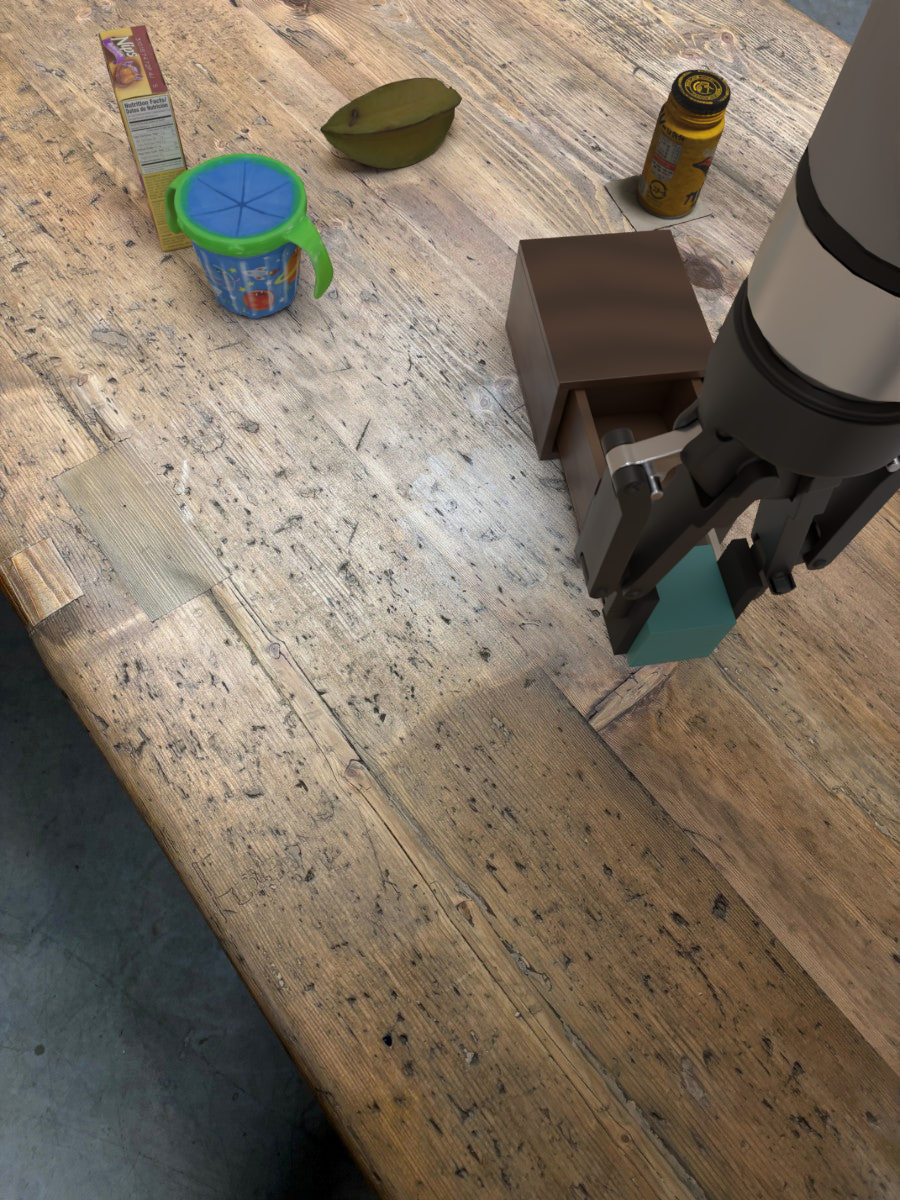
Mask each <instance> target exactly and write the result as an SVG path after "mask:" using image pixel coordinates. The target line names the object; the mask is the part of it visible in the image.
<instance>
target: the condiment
mask: <svg viewBox="0 0 900 1200" xmlns="http://www.w3.org/2000/svg"><path fill="white" fill-rule="evenodd" d="M731 95H732V94H731V87H730V85H729V83H727V81H726V80H725V79H724V77H722V76H720V75H718V74H717V73H715V72H712V71H709V70H705V69H699V68H697V69H688V70H684V71H682V72H680V73H679V74H678V75H677V76H676V77H675V79H674V80H673V82H672V84H671V89H670V92H669V94H668V96H667V99H666V101H665V102H664V103H663V104H662V105H661V107H660V110H659V112H658V116H657V119H656V123H655V126H654V129H653V133H652V137H651V140H650V143H649V146H648V150H647V154H646V156H645V160H644V164H643V167H642V170H641V174H635V175H632V176H629V177H624V178H621V179H616V180H615V179H614V180H611V181H607V182H603V185H604V186H605V188H606V189H607V192H608V193H609V194H610V196H611V198H612V199H613V200H614V202H615V203H616V205H617V207H618V208H619V209H620V211H621V212H622V215H623V216H625V217H626V218H627V220H628V222H629V223H630V225H631V227H633V229H635V232H637V231H652V230H658V229H661V228H665V227H669V226H672V225H678V224H681V223H685V222H689V221H692V220H697V219H699V218H703V217H706V216H709V215H711V214H713V213H714V212H713V210H711V209H710V207H709V206H708V205H707V204H706V203H705V201H704V200H703V199H702V198H701V196H700V195H701V192H702V190H703V186H704V184H705V181H706V179H707V176H708V173H709V170H710V168H711V165H712V161H713V160H714V156H715V153H716V151H717V148H718V145H719V142H720V140H721V138H722V136H723V133H724V129H725V125H726V117H725V116H726V114H727V107H728V106H729V103H730V100H731Z"/></svg>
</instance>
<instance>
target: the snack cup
mask: <svg viewBox="0 0 900 1200" xmlns="http://www.w3.org/2000/svg"><path fill="white" fill-rule="evenodd" d="M307 213H308V197H307V191H306V187H305V183H304V180H303V179H302V178H301V177H300V176H299V175H298V173H296V172H295V171H294V169H293V168H292V167H290V166H288V165H287V164H286V163H284V162H282V161H280V160H278V159H275V158H273V157H269V156H267V155H264V154H263V155H262V154H257V153H248V152H247V153H246V152H243V153H242V152H237V153H227V154H222V155H219V156H215V157H212V158H210V159H206V160H204V161H203V162H200V163H198V164H197V165H196V166H194V167H192V168H190V169H188V170H185V171H184V172H183V173H182V174H180V175H179V176H178V177H177V178H176V179H174V180H173V181H172V183H171V184H170V185H169V186H168V187H167V189H166V192H165V214H166V220H167V225H168V227H169V229H170V230H171V231H172V232H173V233H175V234H178V233H180V232H183V233H184V234H185V235H186V236H187V237H189V238H190V239H191V242H192V246H191V247H192V248H193V250H194V252H195V253H196V258H197V260H198V261H199V263H200V266H201V268H202V270H203V272H204V275H205V277H206V280H207V283H208V284H209V286H210V288H211V290H212V292H213V296H214V297H215V299H216V301H217V303H219V304H218V305H220V306H222V307H223V308H225V309H226V310H228V312H231V313H233V314H236V315H238V316H239V315H240V316H245V317H247V318H248V319H255V320H257V319H260V318H261V317H267V316H270V315H273V314H276V313H278V312H280V311H282V310H284V309H285V308H286V307H288V306H289V307H290V306H291V305H292V303H293V301H294V300H295V297H296V294H297V292H298V289H299V283H300V274H301V273H300V272H301V259H302V251H303V252H305V253H306V254H307V256H308V259H309V262H310V263H311V266H312V269H313V271H314V275H315V282H314V288H313V298H314V299H315V300H318V299H320V298H321V297H323V295H324V294H325V292H326V291H328V289H329V287H330V286H331V284H332V281H333V278H334V272H335V271H334V267H333V263H332V260H331V258H330V254H329V252H328V249H327V247H326V244H325V243H324V240H323V237H322V236H321V234H320V232H319V231H318V229H317V228H316V226H315V224H314V223H313V221H311V219H310V218H309V216H308V214H307Z"/></svg>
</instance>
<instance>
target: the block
mask: <svg viewBox="0 0 900 1200" xmlns="http://www.w3.org/2000/svg"><path fill="white" fill-rule="evenodd" d="M656 588H657V591H658V595H659V598H660V601H659V602H658V604H657V606H656V607H655V609H654V610H653V612H652V614H651V615H650V617H649V619H648V620H647V621H646V623H645V624H644V626H643V628H642V629H641V631H640V633H639V634H638V636H637V638H636V639H635V641H634V643H633V644H632V646H631V648H630V649H629V651H628V653H627V654H624V655H625V658H626V662H627V666H628V668H629V669H630V668H631V669H632V668H637V667H646V666H651V665H660V664H666V663H667V664H668V663H674V662H682V661H689V660H695V659H701V658H708V657H710V656H711V654H712V653H713V652H714V651H715V650H716V648H717V647H718V646H719V645H720V643H721V642H722V641H723V640H724V639H725V637H726V636H727V635H728V634H729V633H730V632H731V630H732V629H733V628H734V627H735V625H737V622H738V621H737V620H736V619H735V616H734V613H733V610H732V607H731V603H730V600H729V597H728V594H727V591H726V588H725V585H724V582H723V579H722V576H721V573H720V570H719V567H718V564H717V561H716V558H715V555H714V552H713V549H712V546H711V545H703V546H695V547H694V548H693V549H692V550H691V551H690V552H689V553H688V554H687V555H686V556H685V557H684V558H683V559H682V560H681V561H680V562H679V563H678V564H677V565H676V566H675V567H674V568H673V569H672V570H671V571H670V572H669V573H668V574H667V575H666V576H665V577H664V578H663V579H662V580H661V581H660V582H659V583H658V584H657V585H656Z"/></svg>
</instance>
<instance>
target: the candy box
mask: <svg viewBox="0 0 900 1200" xmlns="http://www.w3.org/2000/svg"><path fill="white" fill-rule="evenodd" d="M147 28H148V27H147V26H146V25H145V24H143V25H134V26H128V27H126V26H125V27H122V28H121V27H120V28H115V29H109V30H103V31H100V32H98V33H97V34H98V40H99V44H100V47H101V51H102V54H103V59H104V63H105V65H106V69H107V73H108V77H109V80H110V83H111V86H112V91H113V94H114V97H115V101H116V104H117V108H118V111H119V115H120V118H121V121H122V125H123V128H124V132H125V136H126V138H127V142H128V145H129V150H130V152H131V156H132V159H133V162H134V165H135V169H136V172H137V175H138V178H139V182H140V185H141V189H142V191H143V195H144V197H145V201H146V203H147V205H148V206H147V207H148V211H149V213H150V217H151V219H152V223H153V226H154V228H155V232H156V235H157V237H158V241H159V245H160V248H161V251H162V252H171V251H174V250H175V251H176V250H180V249H185V248H190V247H193V246H192V242H191V239H190V238H189V237H187V236H186V235H185V234H184V233H183V232H180V233H178V234H175V233H173V232H172V231H171V230H170V229H169V227H168V225H167V220H166V214H165V192H166V189H167V187H168V186H169V185H170V184H171V183H172V181H173V180H174V179H176V178H177V177H178V176H179V175H180V174H182V173H183V172H184V171H185V170H189V169H188V165H187V161H186V156H185V151H184V147H183V143H182V139H181V135H180V131H179V127H178V122H177V118H176V114H175V113H176V112H175V109H174V105H173V101H172V97H171V92H170V89H169V87H168V85H167V82H166V79H165V77H164V74H163V72H162V68H161V66H160V63H159V60H158V58H157V55H156V52H155V50H154V46H153V44H152V42H151V41H152V40H151V38H150V35H149V32H148V29H147Z"/></svg>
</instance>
